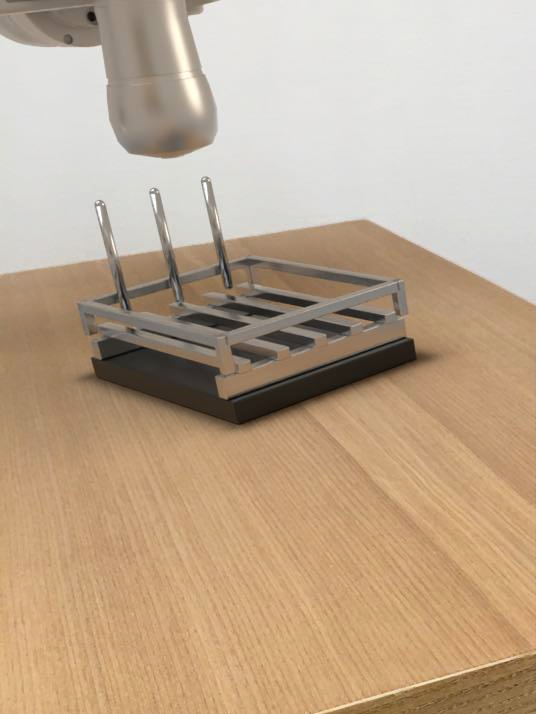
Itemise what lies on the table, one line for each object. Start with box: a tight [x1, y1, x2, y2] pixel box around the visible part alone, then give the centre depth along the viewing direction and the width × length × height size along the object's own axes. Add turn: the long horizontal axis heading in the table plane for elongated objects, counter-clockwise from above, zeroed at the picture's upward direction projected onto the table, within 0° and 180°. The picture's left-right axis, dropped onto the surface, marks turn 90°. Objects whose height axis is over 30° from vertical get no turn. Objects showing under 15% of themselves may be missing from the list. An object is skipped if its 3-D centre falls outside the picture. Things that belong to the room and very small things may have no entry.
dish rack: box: [76, 176, 417, 425], centre depth 70 cm, size 16×12×10 cm
